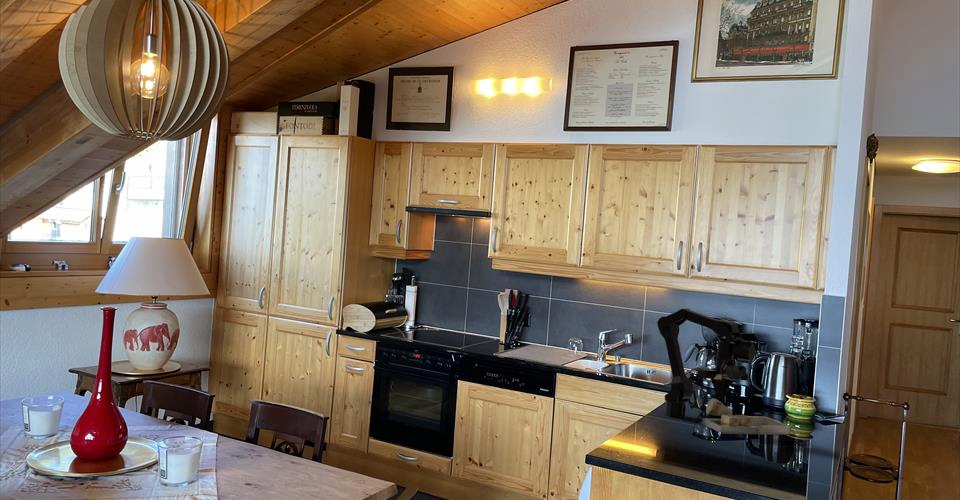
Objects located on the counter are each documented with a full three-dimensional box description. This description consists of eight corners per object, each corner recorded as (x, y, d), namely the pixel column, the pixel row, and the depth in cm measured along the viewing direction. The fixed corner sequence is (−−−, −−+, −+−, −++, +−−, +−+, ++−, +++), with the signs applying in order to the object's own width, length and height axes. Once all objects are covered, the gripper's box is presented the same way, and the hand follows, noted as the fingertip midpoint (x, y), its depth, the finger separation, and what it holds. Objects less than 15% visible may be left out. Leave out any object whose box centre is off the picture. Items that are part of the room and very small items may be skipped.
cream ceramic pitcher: (735, 421, 297) (727, 399, 295) (711, 428, 299) (703, 406, 298) (732, 412, 304) (724, 391, 302) (708, 419, 307) (700, 398, 305)
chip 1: (727, 429, 277) (729, 417, 276) (720, 426, 281) (721, 414, 281) (737, 430, 278) (739, 418, 278) (730, 426, 282) (731, 414, 282)
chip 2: (741, 430, 278) (743, 418, 278) (732, 427, 282) (733, 415, 282) (750, 430, 280) (751, 418, 280) (740, 426, 284) (742, 414, 284)
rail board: (722, 435, 270) (723, 425, 270) (699, 424, 284) (700, 414, 283) (790, 436, 280) (791, 426, 280) (764, 425, 293) (765, 416, 293)
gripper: (717, 358, 266) (712, 402, 267) (760, 361, 272) (755, 403, 273) (698, 352, 277) (693, 394, 277) (740, 355, 283) (735, 396, 283)
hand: (720, 397), depth 277 cm, fingers closed
